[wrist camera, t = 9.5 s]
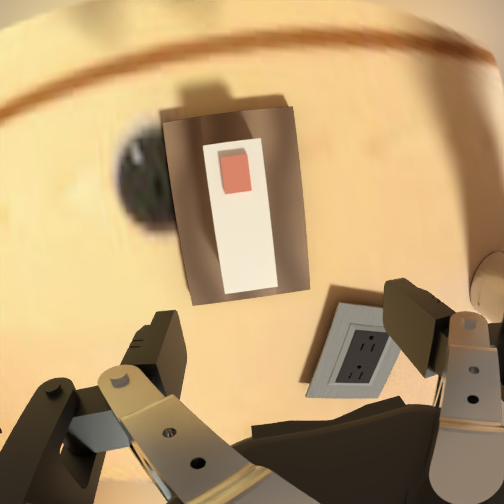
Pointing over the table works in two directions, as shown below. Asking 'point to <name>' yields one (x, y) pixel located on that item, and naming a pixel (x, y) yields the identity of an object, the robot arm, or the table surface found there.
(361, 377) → the electrical outlet
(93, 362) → the table surface
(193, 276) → the brown wooden slotted board
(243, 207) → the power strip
